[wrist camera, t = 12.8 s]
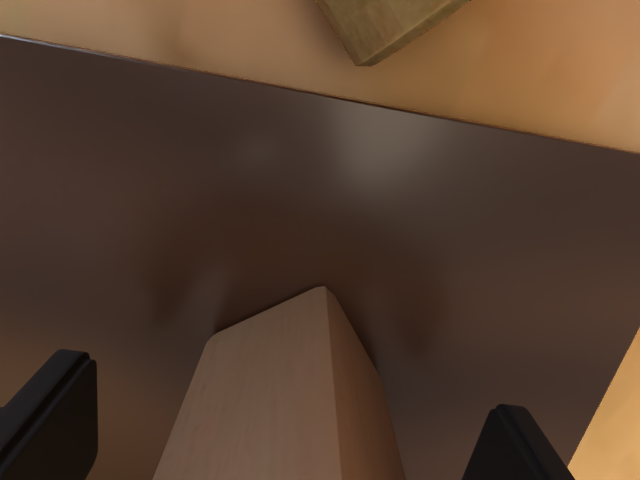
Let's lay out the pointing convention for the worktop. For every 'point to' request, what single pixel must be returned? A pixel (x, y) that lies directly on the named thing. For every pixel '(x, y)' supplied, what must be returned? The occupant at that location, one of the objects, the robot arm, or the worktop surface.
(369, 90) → the worktop surface
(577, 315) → the walnut board
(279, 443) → the wooden block
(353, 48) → the gavel
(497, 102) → the worktop surface
